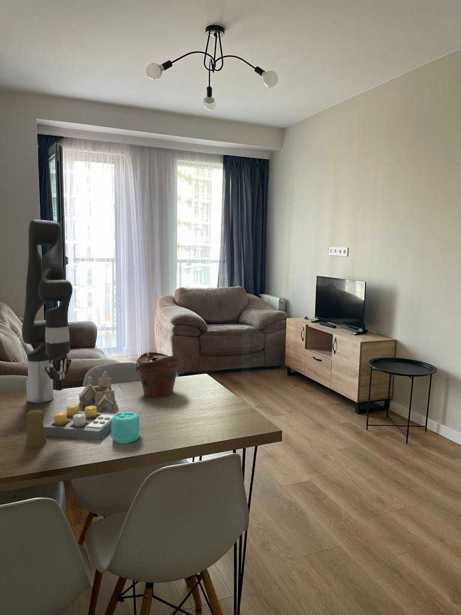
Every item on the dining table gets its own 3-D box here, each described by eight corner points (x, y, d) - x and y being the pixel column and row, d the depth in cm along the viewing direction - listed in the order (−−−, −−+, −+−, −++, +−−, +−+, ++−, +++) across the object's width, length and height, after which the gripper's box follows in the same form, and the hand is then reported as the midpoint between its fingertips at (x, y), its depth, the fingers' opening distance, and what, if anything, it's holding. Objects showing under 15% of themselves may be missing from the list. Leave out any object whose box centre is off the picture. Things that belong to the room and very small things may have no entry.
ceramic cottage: (79, 404, 182) (79, 368, 179) (121, 404, 183) (121, 369, 181) (70, 420, 166) (69, 382, 164) (115, 421, 168) (115, 383, 165)
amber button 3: (82, 417, 159) (82, 409, 158) (88, 413, 163) (88, 405, 162) (93, 418, 158) (93, 410, 158) (98, 414, 162) (98, 406, 162)
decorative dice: (136, 443, 145) (136, 419, 144) (111, 444, 145) (110, 420, 144) (139, 433, 153) (139, 411, 152) (115, 434, 153) (115, 411, 152)
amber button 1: (52, 424, 152) (51, 415, 152) (58, 420, 156) (58, 411, 156) (62, 425, 152) (62, 416, 151) (69, 421, 155) (68, 412, 155)
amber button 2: (64, 416, 160) (64, 407, 160) (70, 412, 164) (70, 404, 164) (75, 416, 159) (74, 408, 159) (80, 412, 163) (80, 404, 163)
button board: (43, 435, 151) (43, 424, 151) (68, 418, 167) (68, 408, 166) (99, 440, 148) (98, 429, 147) (119, 422, 163) (119, 412, 163)
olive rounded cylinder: (30, 440, 147) (28, 407, 146) (49, 439, 148) (47, 407, 146) (23, 448, 141) (21, 414, 140) (43, 447, 142) (41, 414, 140)
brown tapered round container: (142, 385, 208) (142, 347, 206) (184, 387, 206) (184, 349, 203) (128, 398, 191) (127, 356, 188) (174, 400, 188) (174, 359, 186)
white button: (71, 425, 151) (70, 417, 151) (77, 421, 155) (76, 413, 155) (82, 426, 150) (81, 418, 150) (88, 422, 154) (87, 414, 154)
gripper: (58, 335, 157) (60, 383, 160) (35, 343, 144) (37, 395, 147) (77, 336, 156) (79, 385, 158) (56, 344, 143) (59, 396, 145)
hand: (59, 389), depth 152 cm, fingers closed
